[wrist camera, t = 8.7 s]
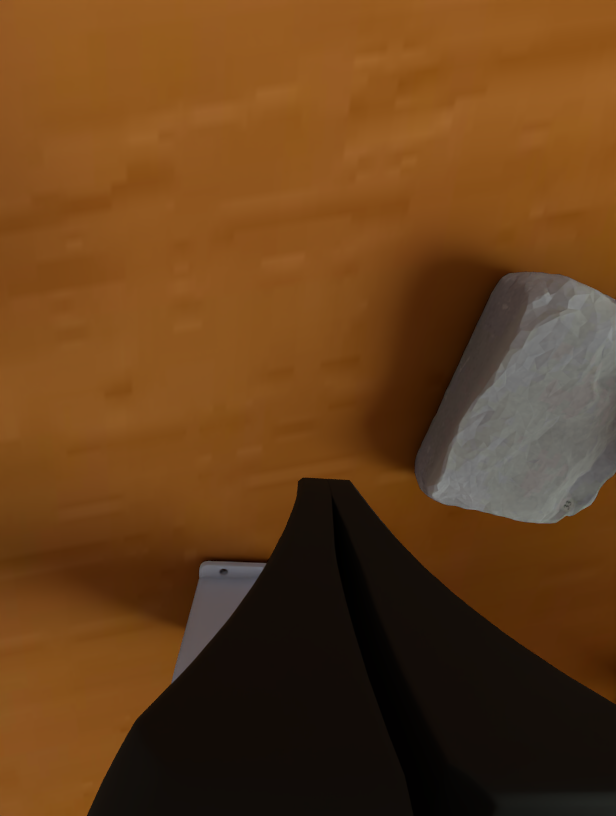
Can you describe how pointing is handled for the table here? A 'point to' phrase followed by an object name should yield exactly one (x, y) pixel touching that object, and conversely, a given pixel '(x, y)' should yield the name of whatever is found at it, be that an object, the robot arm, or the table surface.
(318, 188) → the table surface
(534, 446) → the stone block
